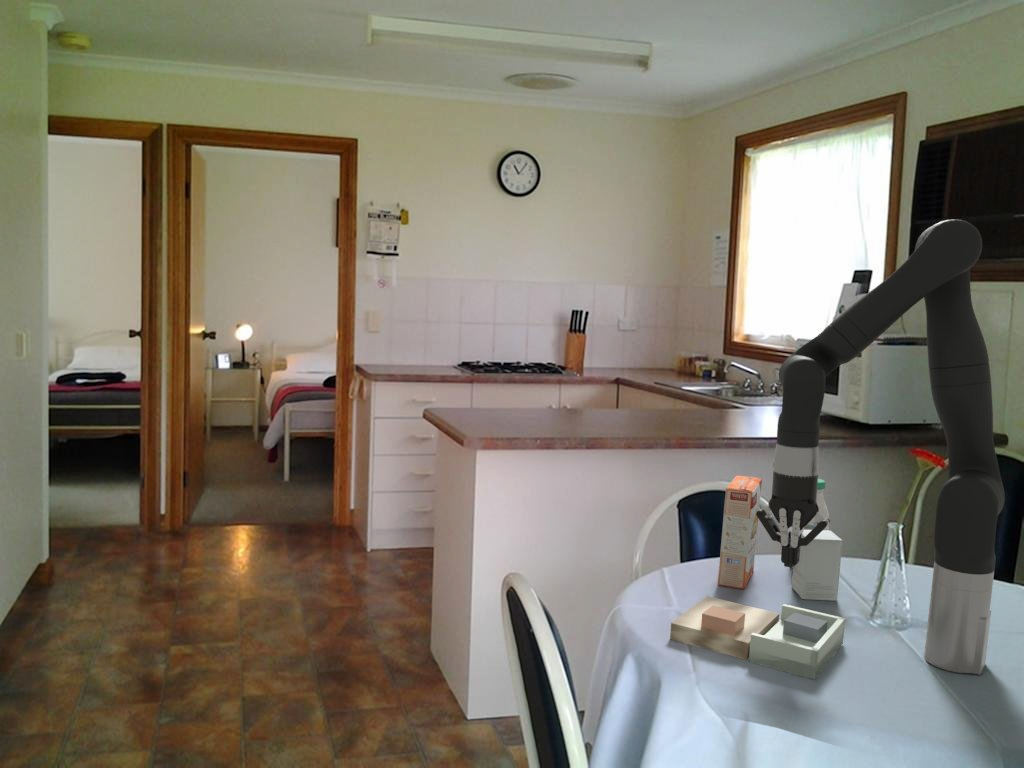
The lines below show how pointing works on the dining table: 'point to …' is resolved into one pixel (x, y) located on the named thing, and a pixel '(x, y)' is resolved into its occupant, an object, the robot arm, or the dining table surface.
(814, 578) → the supplement box
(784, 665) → the box
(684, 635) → the plate
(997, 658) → the dining table surface
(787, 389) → the robot arm
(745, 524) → the cracker box
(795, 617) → the slate tile
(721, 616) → the terracotta tile
